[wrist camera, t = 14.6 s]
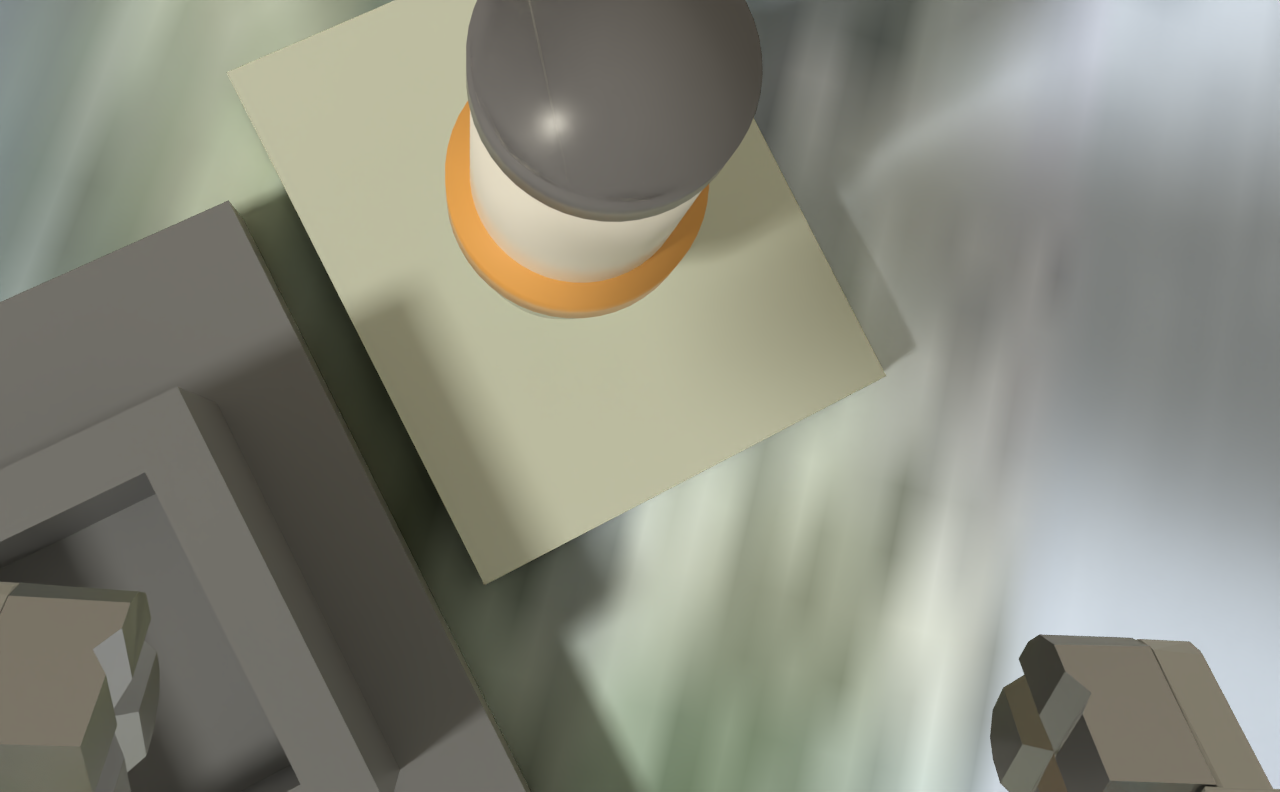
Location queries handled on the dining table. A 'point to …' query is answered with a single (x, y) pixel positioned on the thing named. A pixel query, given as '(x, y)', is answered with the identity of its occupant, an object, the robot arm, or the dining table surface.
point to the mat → (525, 343)
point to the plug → (594, 143)
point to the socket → (229, 528)
